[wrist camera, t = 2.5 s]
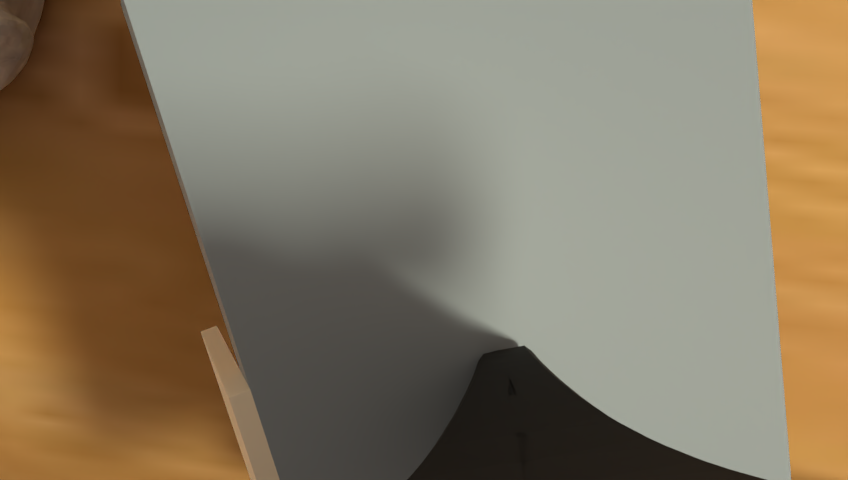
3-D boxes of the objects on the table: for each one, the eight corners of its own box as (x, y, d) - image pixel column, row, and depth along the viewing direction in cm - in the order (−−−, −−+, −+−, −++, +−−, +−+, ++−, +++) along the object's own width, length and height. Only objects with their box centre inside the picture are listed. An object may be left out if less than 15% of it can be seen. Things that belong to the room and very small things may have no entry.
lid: (688, 496, 18) (798, 567, 15) (330, 714, 14) (385, 865, 11) (614, -59, 14) (743, -107, 12) (99, 33, 11) (94, -4, 8)
